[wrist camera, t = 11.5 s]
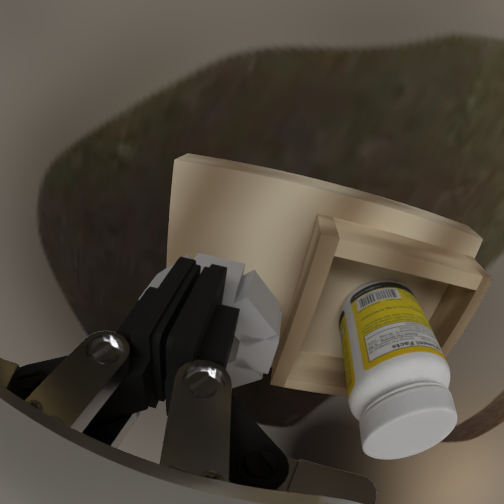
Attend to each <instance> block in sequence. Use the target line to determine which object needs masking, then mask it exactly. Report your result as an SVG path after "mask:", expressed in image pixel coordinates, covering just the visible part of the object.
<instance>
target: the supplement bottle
mask: <svg viewBox="0 0 504 504" xmlns="http://www.w3.org/2000/svg"><path fill="white" fill-rule="evenodd" d="M338 322H339V331H340V337H341V344H342V351H343V358H344V366H345V374H346V383H347V394H348V403H349V407H350V409H351V412H352V413H353V415H354V417H355V418H356V419H358V420H359V421H360V422H359V423H360V433H361V442H362V449H363V451H364V452H365V454H367V455H368V456H370V457H373V458H377V459H398V458H403V457H407V456H411V455H414V454H417V453H420V452H422V451H424V450H427V449H429V448H431V447H432V446H434V445H436V444H437V443H439V442H440V441H442V440H443V439H444V438H445V437H446V436H448V435H449V434H450V432H451V431H452V430H453V429H454V427H455V425H456V423H457V413H456V409H455V406H454V402H453V398H452V395H451V393H450V391H449V389H448V387H449V383H450V370H449V366H448V364H447V361H446V359H445V357H444V354H443V352H442V350H441V348H440V346H439V343H438V341H437V339H436V337H435V335H434V333H433V331H432V329H431V327H430V324H429V322H428V320H427V318H426V316H425V314H424V312H423V311H422V309H421V307H420V305H419V303H418V301H417V299H416V297H415V295H414V294H413V292H412V291H411V290H410V289H409V288H408V287H407V286H406V285H404V284H403V283H400V282H398V281H394V280H389V279H381V280H375V281H371V282H368V283H366V284H364V285H362V286H360V287H359V288H357V289H356V290H354V291H353V292H352V293H351V294H350V295H349V296H348V297H347V299H346V300H345V302H344V303H343V305H342V307H341V310H340V313H339V320H338Z"/></svg>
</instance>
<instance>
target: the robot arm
mask: <svg viewBox="0 0 504 504" xmlns="http://www.w3.org/2000/svg"><path fill="white" fill-rule="evenodd" d="M200 271H201V266H200V265H197V264H196V260H194V259H190V258H185V257H179V258H178V260H177V261H176V263H175V264H174V265H173V267H172V268H171V270H170V271H169V272H168V274H167V275H166V277H165V278H164V280H163V281H162V283H161V284H160V285H159V287H158V288H155V287H149V288H148V289H147V290H146V291H145V293H144V294H143V295H142V297H141V298H140V300H139V301H138V302H137V304H136V305H135V307H134V308H133V309H132V311H131V312H130V314H129V315H128V316H127V318H126V319H125V321H124V322H123V324H122V325H121V326H120V328H119V329H118V331H117V332H116V333H115V332H111V331H100V332H96V333H93V334H91V335H90V336H88V337H87V338H85V339H84V340H83V342H81V343H80V344H79V345H78V346H77V347H76V348H75V349H74V350H73V351H72V353H70V354H69V355H68V356H64V357H59V358H55V359H51V360H47V361H42V362H38V363H33V364H29V365H25V366H23V367H19V365H18V364H16V363H14V362H10V361H7V360H4V359H1V358H0V504H375V502H376V495H377V494H376V488H375V486H374V483H373V482H372V481H371V480H369V479H368V478H367V477H364V476H362V475H359V474H354V473H350V472H346V471H342V470H338V469H334V468H330V467H326V466H323V465H319V464H316V463H312V462H309V461H306V460H302V459H300V460H299V461H297V460H293V459H290V458H287V457H286V456H285V455H284V453H283V452H282V451H281V450H280V449H279V448H278V447H277V445H275V443H274V442H273V441H272V440H271V439H270V438H269V437H268V436H267V435H266V434H265V432H264V431H263V430H262V429H261V428H260V427H259V426H258V425H257V423H256V422H255V421H254V420H253V419H252V418H251V417H250V415H249V414H248V413H247V412H246V411H245V410H244V408H243V407H242V406H241V405H240V404H239V403H238V401H237V400H236V399H235V398H234V397H233V395H232V394H231V391H232V383H231V377H230V375H229V374H228V372H227V371H226V367H227V363H228V359H229V355H230V352H231V348H232V344H233V340H234V336H235V331H236V326H237V322H238V317H239V311H240V309H239V308H235V307H230V306H226V305H222V300H223V293H224V287H225V281H226V275H227V267H224V266H220V265H215V264H211V265H210V267H206V266H205V267H204V268H203V270H202V272H201V274H200ZM165 398H166V411H167V416H168V418H167V423H166V428H165V435H164V440H163V446H162V451H161V458H160V464H157V463H154V462H151V461H148V460H145V459H142V458H140V457H137V456H134V455H132V454H129V453H126V452H124V451H121V450H119V449H117V448H118V447H119V445H120V444H121V442H122V440H123V439H124V438H125V436H126V435H127V433H128V432H129V430H130V429H131V427H132V426H133V424H134V423H135V421H136V420H137V418H138V416H139V414H140V411H143V410H146V409H147V408H148V406H150V407H153V408H156V406H157V403H158V401H164V400H165Z"/></svg>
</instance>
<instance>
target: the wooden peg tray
mask: <svg viewBox="0 0 504 504" xmlns="http://www.w3.org/2000/svg"><path fill="white" fill-rule="evenodd" d="M482 240H483V239H482V238H481V237H480V236H479V235H478V234H477V233H475V232H474V231H473V230H472V229H471V228H470V227H469V226H467V225H464V224H462V223H459V222H456V221H454V220H451V219H448V218H445V217H442V216H440V215H437V214H434V213H431V212H428V211H425V210H422V209H419V208H416V207H413V206H410V205H407V204H403V203H400V202H397V201H394V200H391V199H387V198H384V197H381V196H377V195H374V194H370V193H367V192H363V191H360V190H356V189H353V188H349V187H345V186H341V185H338V184H334V183H330V182H326V181H322V180H318V179H314V178H310V177H306V176H301V175H297V174H293V173H288V172H284V171H280V170H275V169H270V168H266V167H261V166H256V165H251V164H246V163H241V162H235V161H230V160H225V159H219V158H213V157H207V156H201V155H195V154H189V153H188V154H186V155H184V156H181V157H179V158H177V159H175V160H174V169H173V179H172V189H171V201H170V214H169V228H168V245H167V268H168V267H169V266H171V265H172V264H174V263H175V262H176V261H177V260H178V258H179V257H185V256H186V255H188V254H189V256H190V257H191V258H192V259H194V258H195V257H196V255H197V254H198V253H201V254H205V255H210V256H214V257H218V258H223V259H227V260H231V261H236V262H240V263H245V267H244V272H243V275H245V274H247V273H249V272H250V271H252V270H255V271H256V272H257V274H258V275H259V276H260V278H261V279H262V280H263V282H264V283H265V284H266V286H267V287H268V288H269V290H270V291H271V292H272V294H273V295H274V296H275V298H276V299H277V300H278V302H279V303H280V312H282V316H281V326H280V336H279V344H278V347H277V350H276V352H275V355H274V358H273V361H272V364H271V367H272V374H271V382H270V385H275V386H280V387H286V388H292V389H297V390H304V391H310V392H317V393H324V394H331V395H339V396H348V394H347V383H346V374H345V366H344V358H343V351H342V344H341V337H340V331H339V322H338V320H339V313H340V310H341V307H342V305H343V303H344V302H345V300H346V299H347V297H348V296H349V295H350V294H351V293H352V292H353V291H354V290H356V289H357V288H359V287H360V286H362V285H364V284H366V283H368V282H371V281H375V280H381V279H389V280H394V281H398V282H400V283H403V284H404V285H406V286H407V287H408V288H409V289H410V290H411V291H412V292H413V294H414V295H415V297H416V299H417V301H418V303H419V305H420V307H421V309H422V311H423V312H424V314H425V316H426V318H427V320H428V322H429V324H430V327H431V329H432V331H433V333H434V335H435V337H436V339H437V341H438V343H439V346H440V348H441V350H442V352H443V354H444V357H445V358H446V356H447V355H448V354H449V352H450V351H451V349H452V348H453V346H454V345H455V343H456V342H457V340H458V339H459V337H460V336H461V334H462V333H463V331H464V330H465V328H466V326H467V325H468V323H469V322H470V320H471V318H472V317H473V315H474V313H475V312H476V310H477V308H478V306H479V305H480V303H481V301H482V299H483V297H484V296H485V294H486V292H487V290H488V288H489V286H490V284H491V283H492V281H493V280H492V279H491V277H490V276H489V275H488V274H487V273H486V271H485V270H484V269H483V268H482V267H481V266H480V265H479V264H478V262H477V261H476V260H475V256H476V254H477V252H478V250H479V247H480V245H481V243H482Z"/></svg>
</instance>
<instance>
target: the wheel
mask: <svg viewBox="0 0 504 504" xmlns="http://www.w3.org/2000/svg"><path fill="white" fill-rule="evenodd" d="M185 258H190V259H192V258H191V257H190V256H189V254H188V255H186V256H185ZM194 260H196V264H197V265H200V266H201V271H200V274H201V272H202V270H203V268H204V267H205V266H206V267H210V265H211V264H215V265H220V266H224V267H227V275H226V281H225V287H224V293H223V300H222V305H226V306H230V307H235V308H239V309H240V311H239V317H238V322H237V326H236V331H235V336H234V340H233V344H232V348H231V352H230V355H229V359H228V363H227V367H226V371H227V372H228V374H229V375H230V377H231V383H232V388H234V387H238V386H241V385H244V384H248V383H251V382H254V381H257V380H260V379H262V377H263V373H266V374H268V373H269V370H270V367H271V364H272V361H273V358H274V355H275V352H276V350H277V347H278V344H279V336H280V326H281V316H282V312H280V303H279V302H278V300H277V299H276V298H275V296H274V295H273V294H272V292H271V291H270V290H269V288H268V287H267V286H266V284H265V283H264V282H263V280H262V279H261V278H260V276H259V275H258V274H257V272H256V271H255V270H252V271H250V272H249V273H247V274H245V275H243V272H244V267H245V263H240V262H236V261H231V260H227V259H223V258H218V257H214V256H210V255H205V254H201V253H198V254H197V255H196V257H195V258H194ZM175 263H176V262H175ZM175 263H174V264H175ZM174 264H172V265H171V266H169V267H168V268H166V269H165V270H163V271H162V272H160V273H158V274H157V275H156V277H155V278H154V279H153V281H152V282H151V283H150V284H149V286H148V287H147V288H146V290H147V289H148V288H149V287H155V288H158V287H159V285H160V284H161V283H162V281H163V280H164V278H165V277H166V275H167V274H168V272H169V271H170V270H171V268H172V267H173V265H174ZM146 290H145V291H146ZM145 291H144V292H143V294H144V293H145ZM143 294H142V295H143ZM142 295H141V296H140V298H141V297H142ZM140 298H139V300H140Z"/></svg>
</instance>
